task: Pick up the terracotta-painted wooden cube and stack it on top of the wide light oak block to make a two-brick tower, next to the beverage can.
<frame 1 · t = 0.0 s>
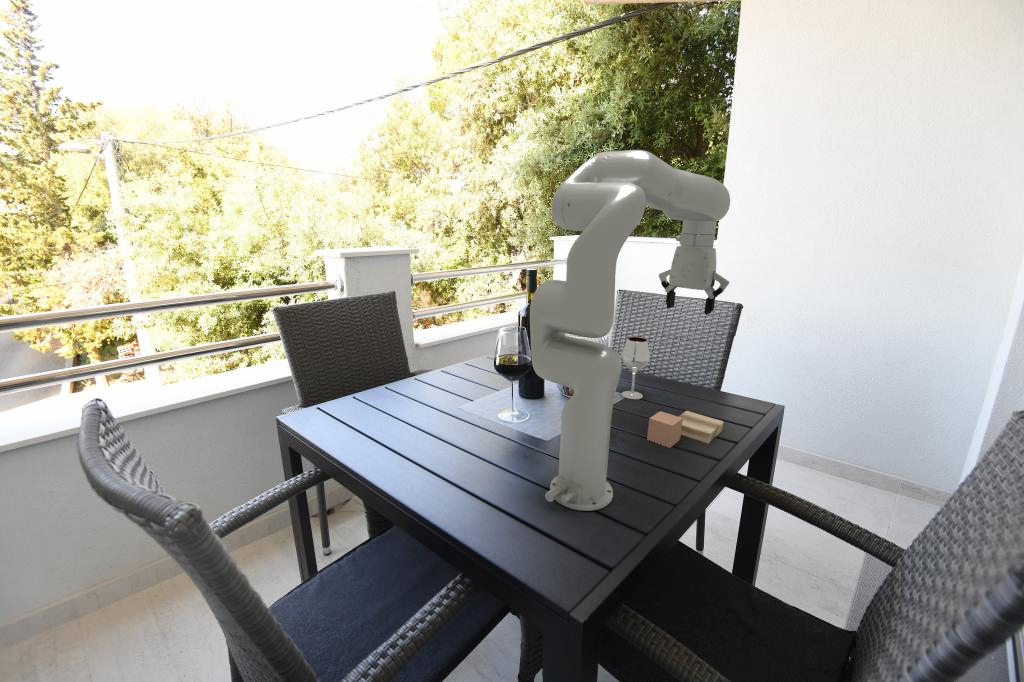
hand: (688, 310, 122), 31 cm above the table, tool pointing down, fingers open, 9 cm apart
painted cube: (663, 440, 121), on the table
beverage can: (597, 430, 126), on the table
wineglass: (631, 396, 149), on the table
oak block: (696, 432, 127), on the table
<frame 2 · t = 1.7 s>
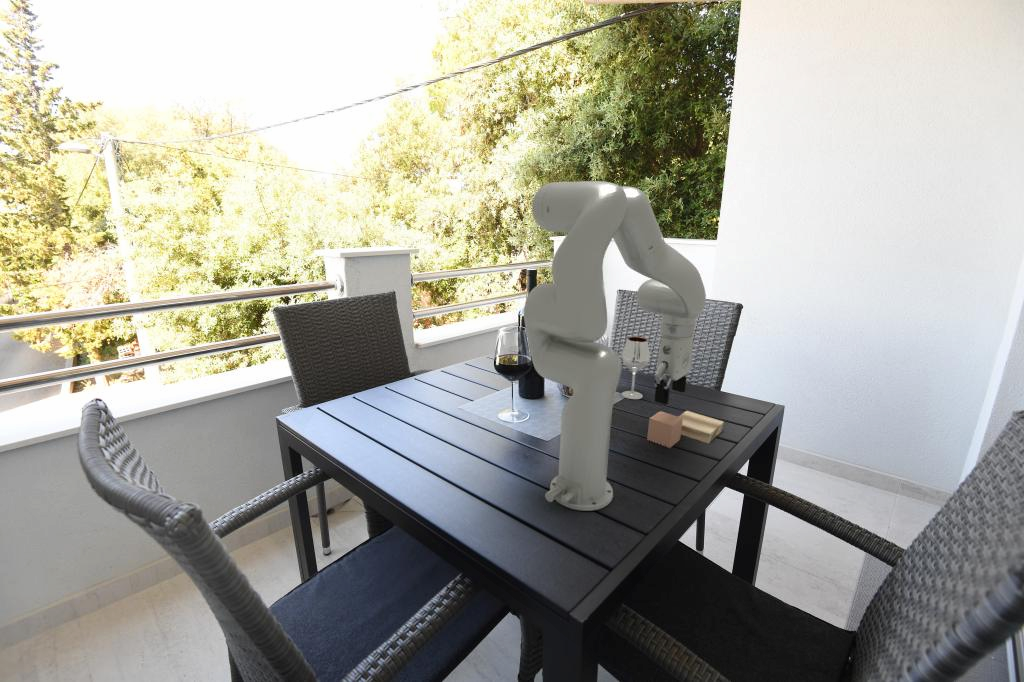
hand: (670, 396, 119), 11 cm above the table, tool pointing down, fingers open, 9 cm apart
nothing on the table moved.
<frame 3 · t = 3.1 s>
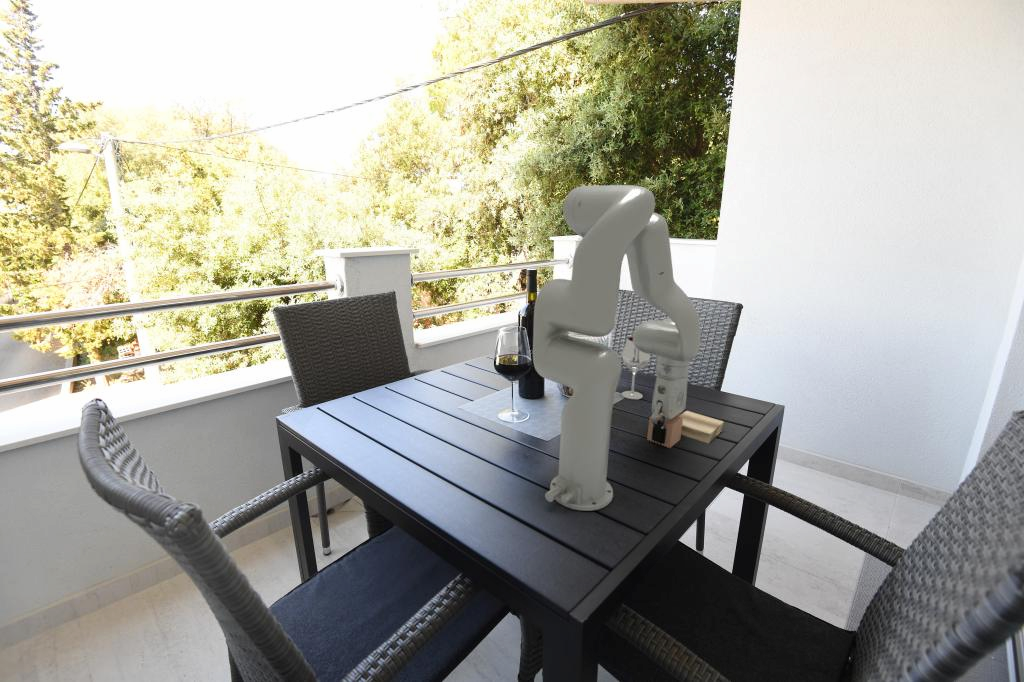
hand: (664, 436, 121), 1 cm above the table, tool pointing down, fingers closed on painted cube, 6 cm apart
painted cube: (663, 439, 121), on the table, touching gripper
everything else where it was.
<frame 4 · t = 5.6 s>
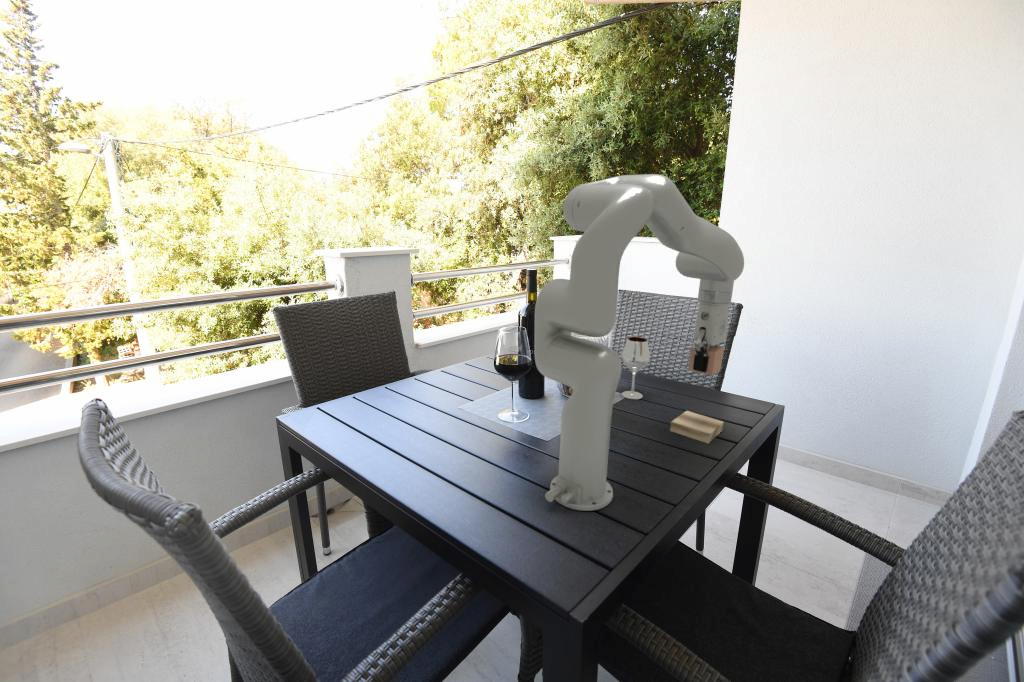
hand: (704, 367, 122), 18 cm above the table, tool pointing down, fingers closed on painted cube, 6 cm apart
painted cube: (704, 370, 122), point 17 cm above the table, touching gripper
everything else where it was.
when the fingers open (4 cm above the table, at t = 8.2 s): painted cube stays where it is, resting on oak block.
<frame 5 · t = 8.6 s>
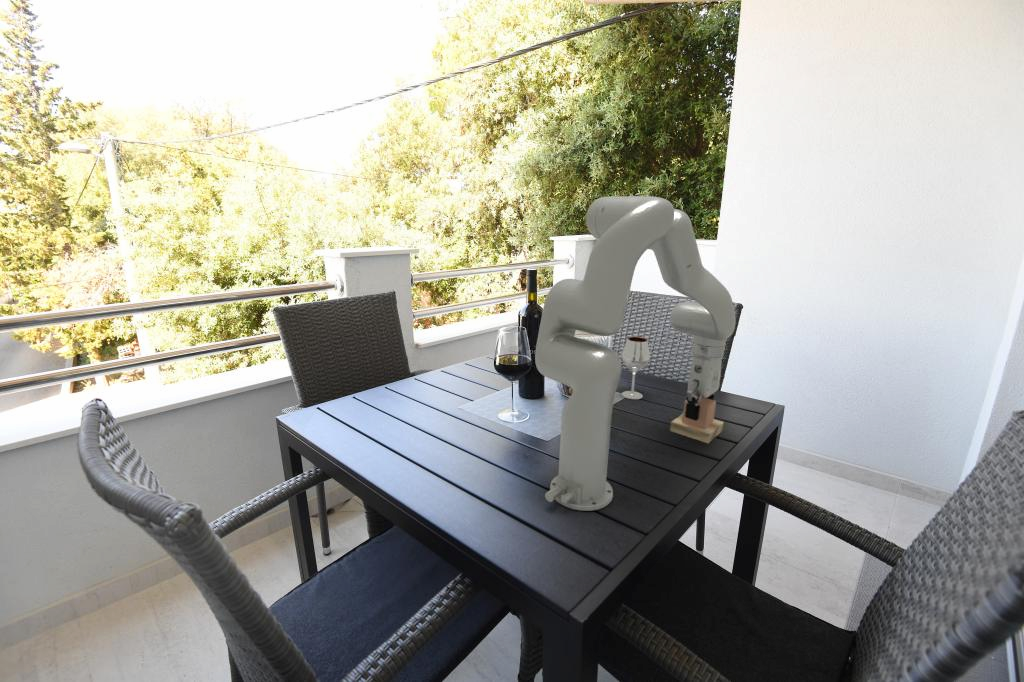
hand: (698, 412, 125), 5 cm above the table, tool pointing down, fingers open, 9 cm apart
painted cube: (697, 422, 126), point 2 cm above the table, touching oak block
oak block: (696, 432, 127), on the table, touching painted cube
everything else where it was.
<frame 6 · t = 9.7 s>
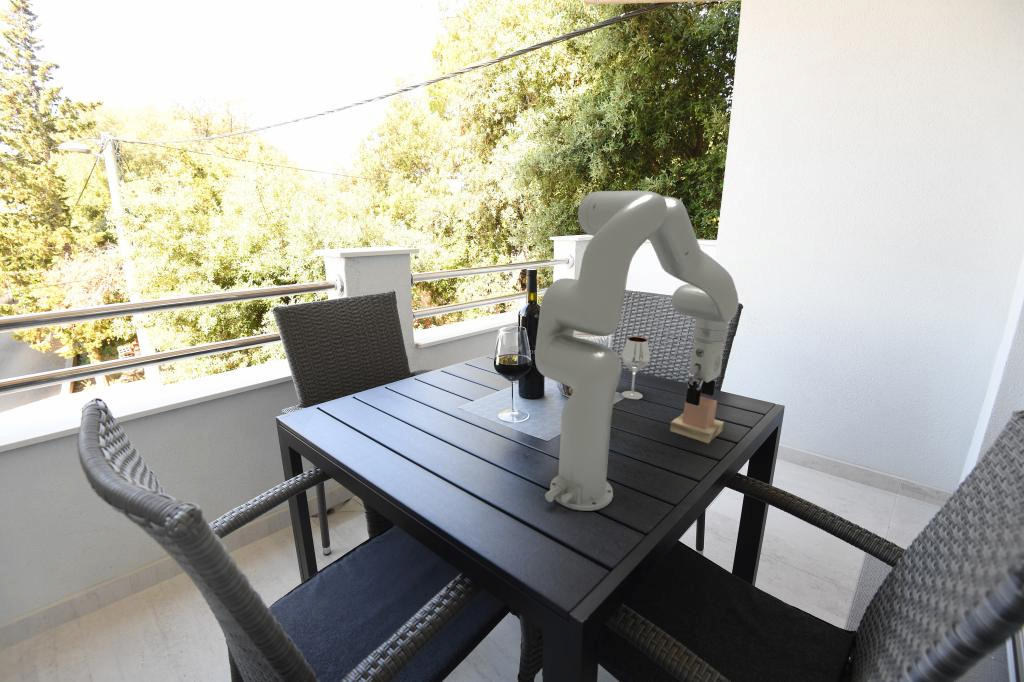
hand: (699, 398, 124), 9 cm above the table, tool pointing down, fingers open, 9 cm apart
painted cube: (698, 422, 126), point 2 cm above the table
oak block: (696, 432, 127), on the table
everything else where it was.
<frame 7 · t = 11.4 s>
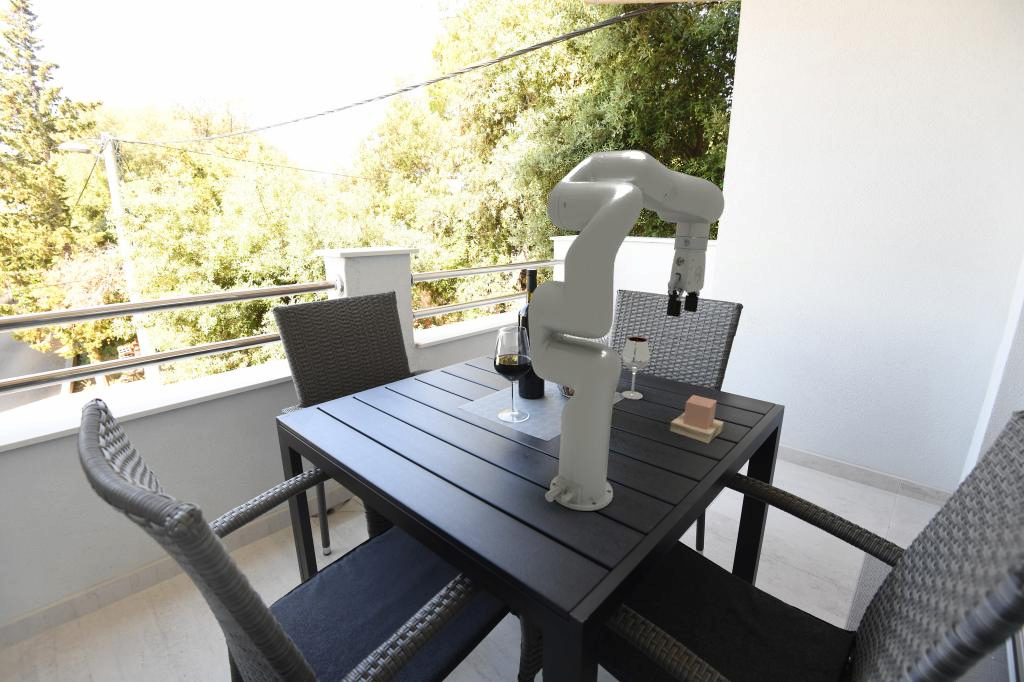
hand: (681, 313, 121), 30 cm above the table, tool pointing down, fingers open, 9 cm apart
nothing on the table moved.
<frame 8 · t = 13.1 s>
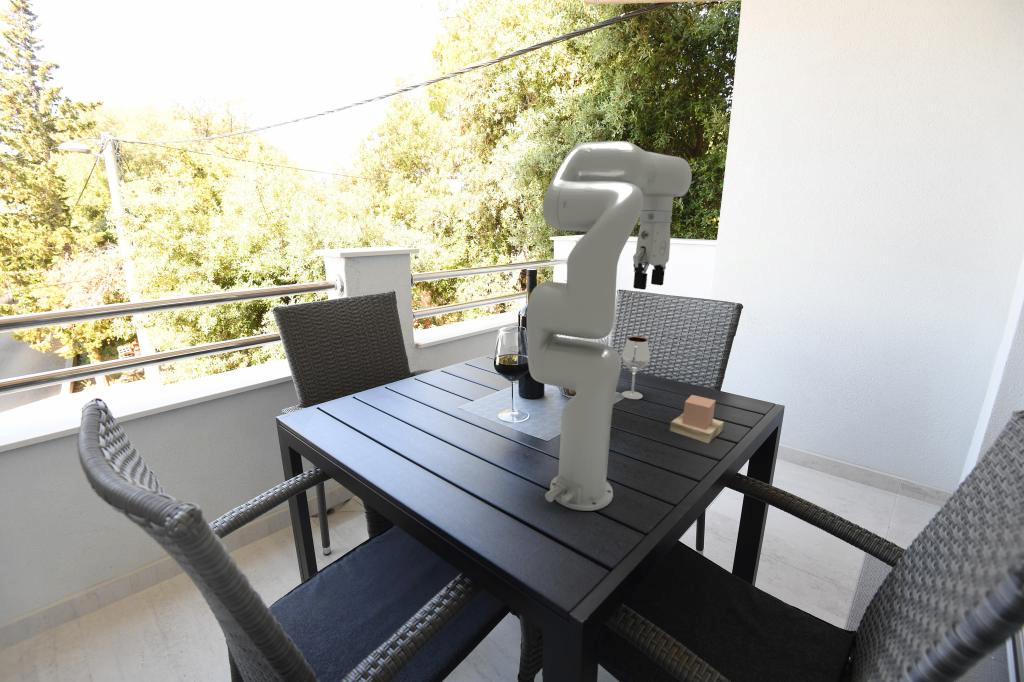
hand: (648, 286, 125), 36 cm above the table, tool pointing down, fingers open, 9 cm apart
nothing on the table moved.
at the end: painted cube inside the target area on the oak block (0.4 cm from its centre), point 3.0 cm above the oak block's base; painted cube tilted 0°; the gripper is holding nothing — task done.
